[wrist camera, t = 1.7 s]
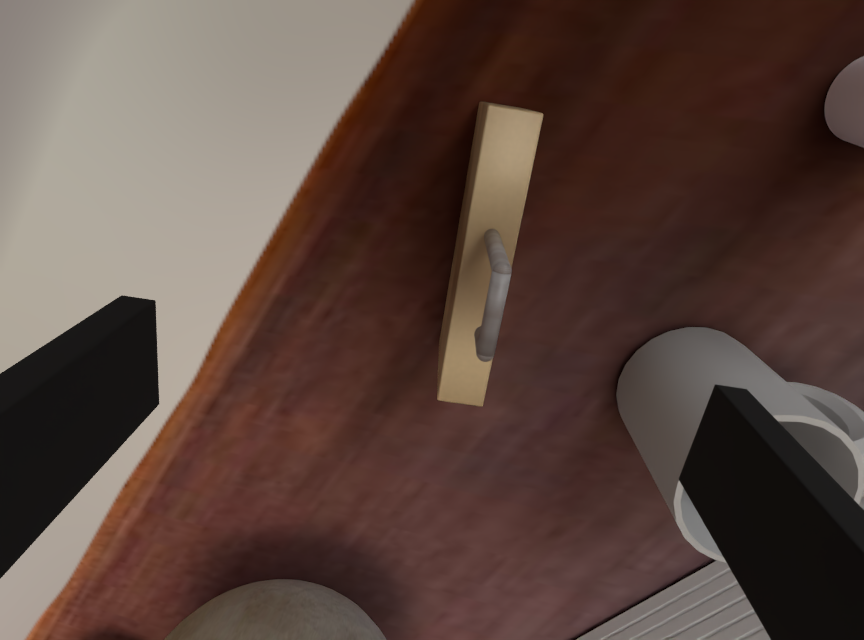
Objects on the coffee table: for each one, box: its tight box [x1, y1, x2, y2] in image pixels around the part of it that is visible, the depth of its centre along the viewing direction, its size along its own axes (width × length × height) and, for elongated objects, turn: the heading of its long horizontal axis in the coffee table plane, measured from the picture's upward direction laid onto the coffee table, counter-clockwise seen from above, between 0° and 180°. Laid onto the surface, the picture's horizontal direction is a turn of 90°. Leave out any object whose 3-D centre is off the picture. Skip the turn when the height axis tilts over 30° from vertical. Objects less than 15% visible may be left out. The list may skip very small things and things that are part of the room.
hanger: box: [437, 102, 543, 407], centre depth 23 cm, size 12×2×11 cm, turn 172°
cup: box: [616, 327, 864, 563], centre depth 26 cm, size 7×10×9 cm
